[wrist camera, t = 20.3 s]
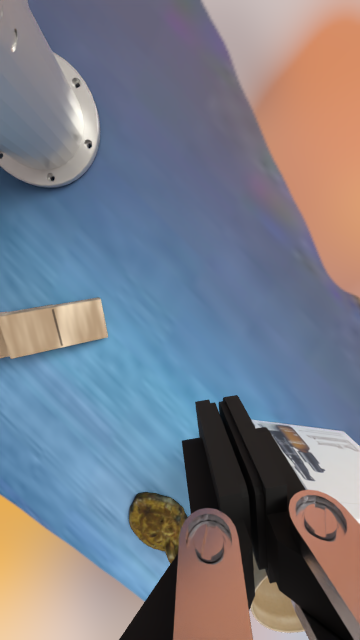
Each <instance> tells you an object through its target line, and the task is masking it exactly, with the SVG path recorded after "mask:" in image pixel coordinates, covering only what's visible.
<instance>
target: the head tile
mask: <svg viewBox="0 0 360 640" xmlns="http://www.w3.org/2000/svg"><path fill="white" fill-rule="evenodd" d="M0 327H1V330H2V333H3V336H4V339H5V342H6V346H7V349H8V352H9V355H10V358H11V359H13V358H17V357H21V356H26V355H30V354H35V353H39V352H44V351H48V350H53V349H57V348H62V347H66V346H71V345H75V344H80V343H84V342H89V341H93V340H97V339H102V338H106V337H108V333H107V328H106V323H105V319H104V314H103V309H102V304H101V299H100V298H93V299H87V300H81V301H75V302H69V303H63V304H57V305H52V306H46V307H40V308H34V309H28V310H22V311H16V312H10V313H4V314H1V315H0Z"/></svg>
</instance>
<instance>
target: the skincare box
mask: <svg viewBox="0 0 360 640" xmlns="http://www.w3.org/2000/svg"><path fill="white" fill-rule="evenodd" d="M252 422H253V424H254V426H255V428H261V427H266V428H268V430H269V431H270V433H271V434H272V436H273V438H274V439H275V441H276V442H277V444H278V446H279V447H280V449H281V450H282V452H283V454H284V455H285V457H286V458H287V460H288V462H289V463H290V465H291V466H292V468H293V470H294V471H295V473H296V474H297V476H298V478H299V479H300V481H301V482H302V484H303V486H304V487H305V489H306V490H316V491H320V492H323V493H326V494H328V495H329V496H331V497H333V498H334V499H336V500H337V501H338V502H339V503H340V504H342V505H343V506H344V507H345V508H346V509H347V510H348V512H349V513H350V514H351V515H352V516H353V517H354V518H355V519H356V520H357V522H358V523H359V524H360V446H359V445H358V444H356V443H355V442H354V441H353V440H352V439H351V438H350V437H349V436H348V435H347V434H346V433H345V432H343V431H337V430H329V429H321V428H313V427H305V426H297V425H290V424H282V423H274V422H266V421H258V420H252Z"/></svg>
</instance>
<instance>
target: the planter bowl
mask: <svg viewBox="0 0 360 640" xmlns="http://www.w3.org/2000/svg"><path fill="white" fill-rule="evenodd" d="M253 566H254V584H255V597H254V600H253V602H252V605H251V607H250V608H251V611H252V614H253V616H254V617H255V619H256V620H257V621H258V622H259V623H260V624H261V625H263V626H265V627H266V628H269V629H271V630H274V631H279V632H285V633H294V632H303V631H305V630H304V628H303V626H302V624H301V622H300V620H299V618H298V616H297V614H296V612H295V610H294V607H293V605H292V602H291V599H290V598H288V597H287V596H286V595H284V594H283V593H282V592H280V591H279V589H278V586H277V583H276V582H275V583H269V580H268V577H267V574H266V571H265V569H262V570H259V569H258V566H257V564H256V561H255V557H254V554H253Z"/></svg>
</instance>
